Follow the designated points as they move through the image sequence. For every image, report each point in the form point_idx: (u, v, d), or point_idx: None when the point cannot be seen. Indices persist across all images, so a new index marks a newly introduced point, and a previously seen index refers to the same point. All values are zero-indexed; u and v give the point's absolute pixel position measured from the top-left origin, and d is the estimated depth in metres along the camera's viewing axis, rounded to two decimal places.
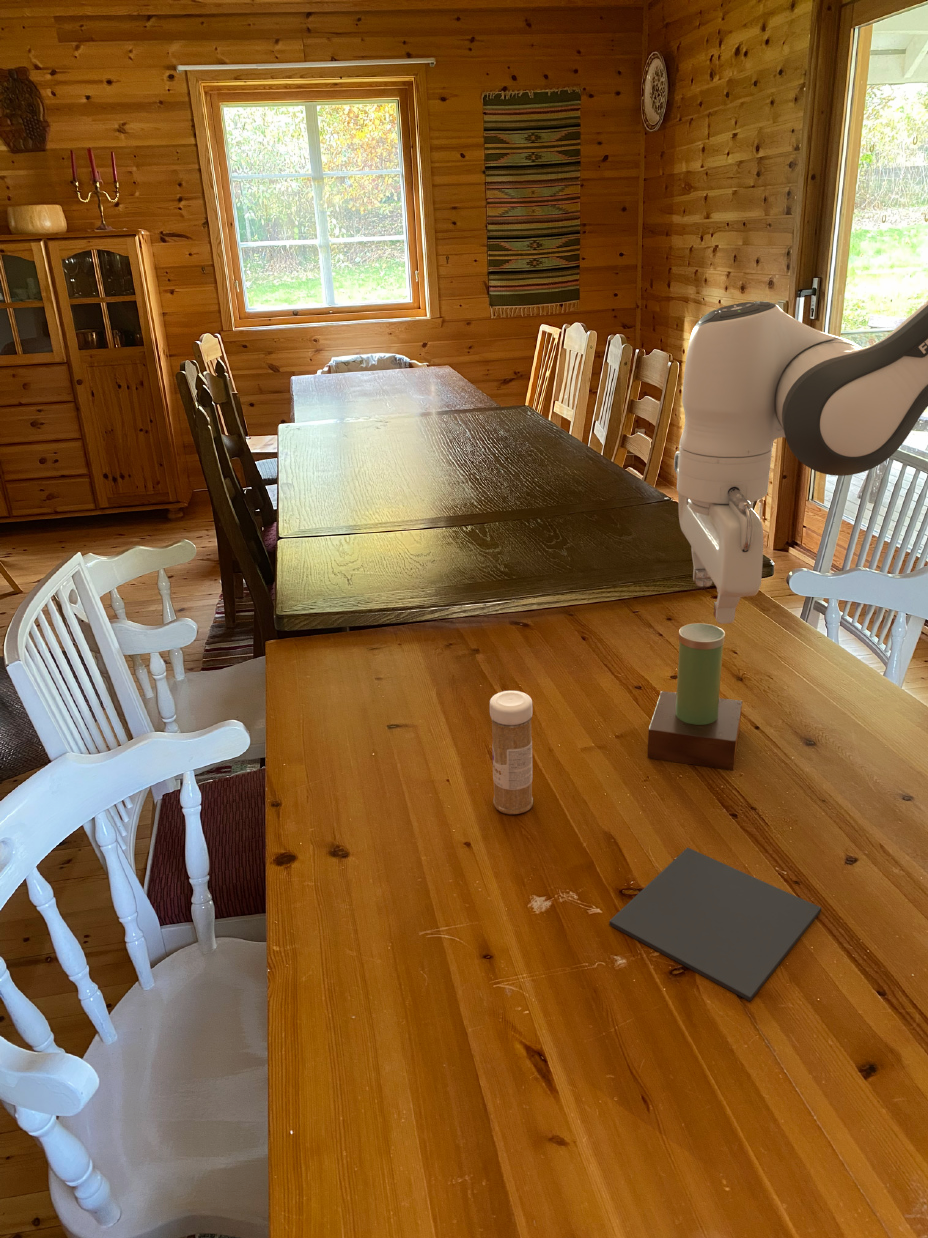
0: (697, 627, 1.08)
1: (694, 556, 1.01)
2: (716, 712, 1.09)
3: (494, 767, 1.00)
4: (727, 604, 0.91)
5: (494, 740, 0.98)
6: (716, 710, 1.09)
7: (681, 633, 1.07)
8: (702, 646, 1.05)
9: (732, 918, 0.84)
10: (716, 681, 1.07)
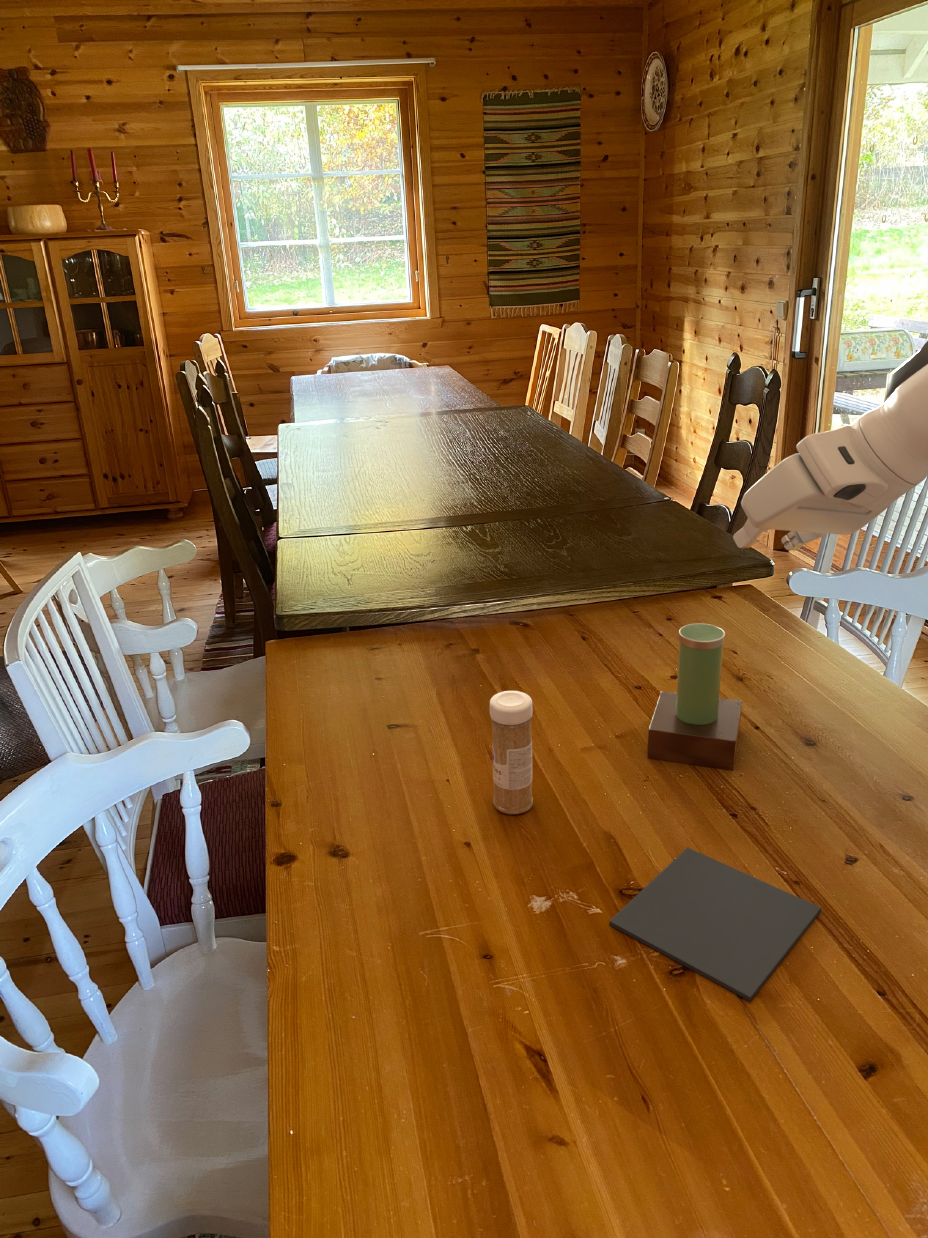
0: (697, 627, 1.08)
1: None
2: (716, 712, 1.09)
3: (494, 767, 1.00)
4: None
5: (494, 740, 0.98)
6: (716, 710, 1.09)
7: (681, 633, 1.07)
8: (702, 646, 1.05)
9: (732, 918, 0.84)
10: (716, 681, 1.07)
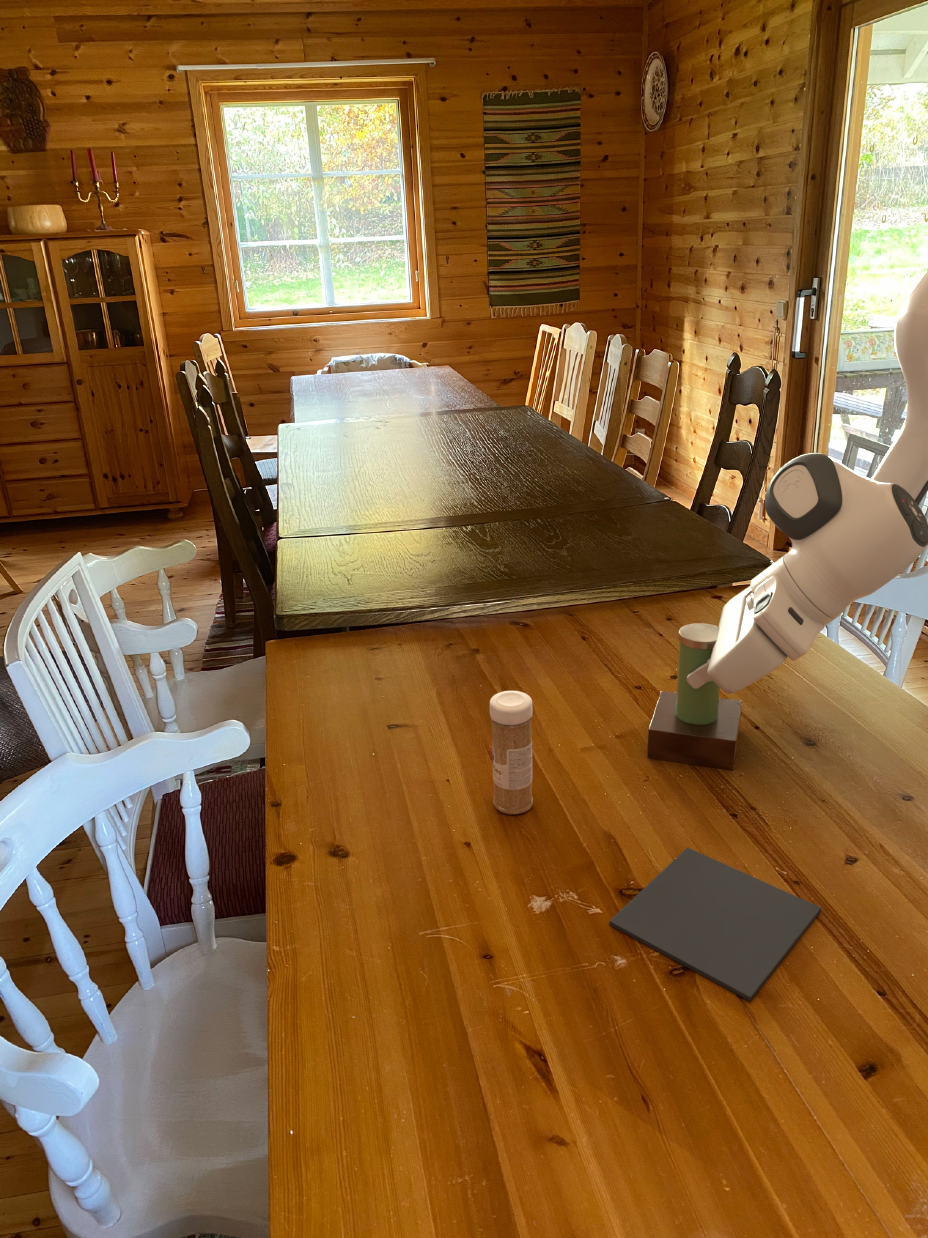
0: (696, 626, 1.08)
1: None
2: (716, 712, 1.09)
3: (494, 767, 1.00)
4: None
5: (494, 740, 0.98)
6: (716, 710, 1.09)
7: (681, 633, 1.07)
8: (702, 646, 1.05)
9: (732, 918, 0.84)
10: None
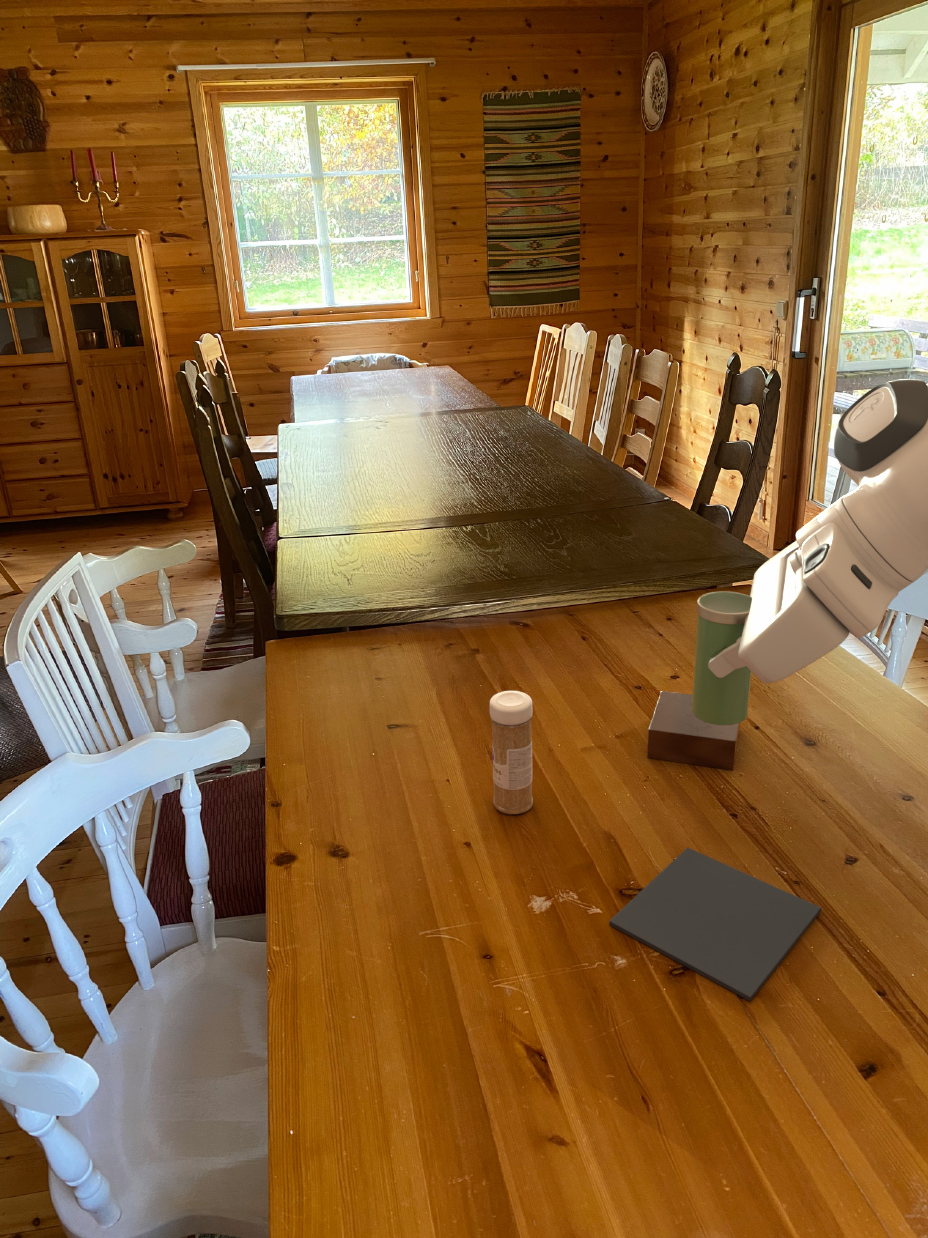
0: (721, 595, 0.82)
1: None
2: (746, 709, 0.83)
3: (494, 767, 1.00)
4: None
5: (494, 740, 0.98)
6: (746, 706, 0.83)
7: (700, 603, 0.80)
8: (729, 620, 0.78)
9: (732, 918, 0.84)
10: (747, 667, 0.81)
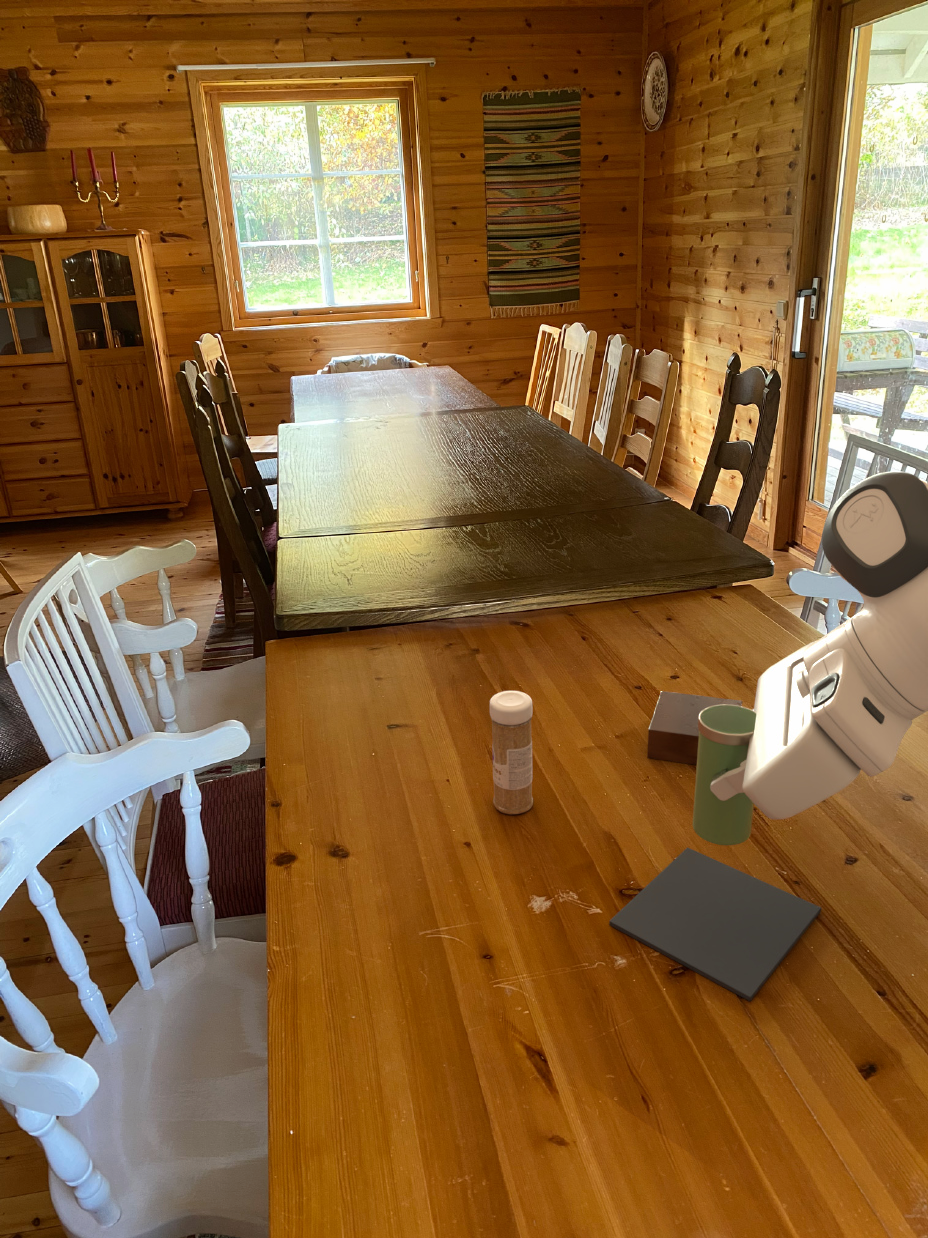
0: (723, 710, 0.78)
1: None
2: (749, 827, 0.79)
3: (494, 767, 1.00)
4: None
5: (494, 740, 0.98)
6: (749, 825, 0.79)
7: (702, 720, 0.76)
8: (732, 741, 0.74)
9: (732, 918, 0.84)
10: None
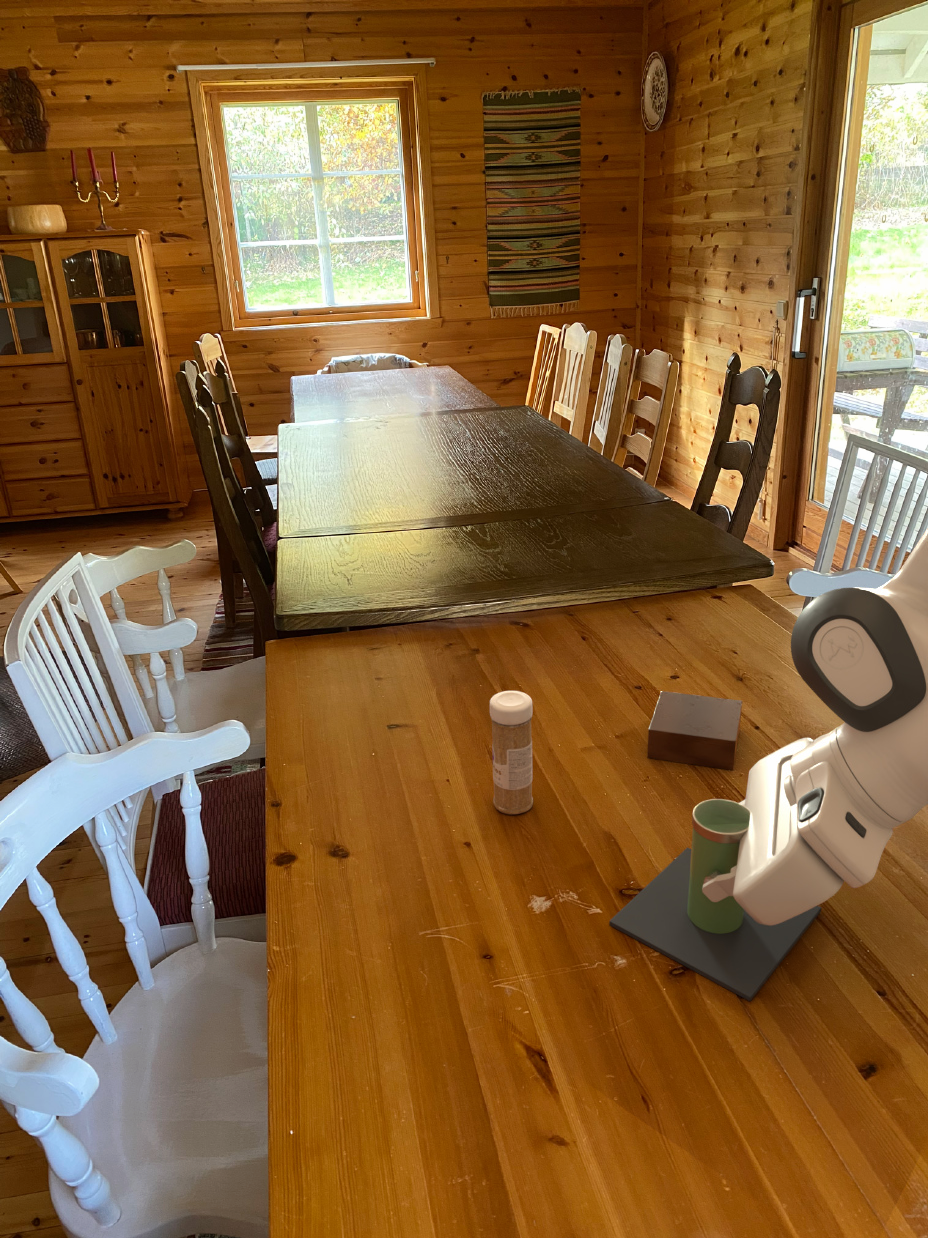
0: (716, 805, 0.82)
1: None
2: (741, 916, 0.83)
3: (494, 767, 1.00)
4: None
5: (494, 740, 0.98)
6: (741, 914, 0.82)
7: (695, 817, 0.80)
8: (724, 839, 0.78)
9: None
10: None
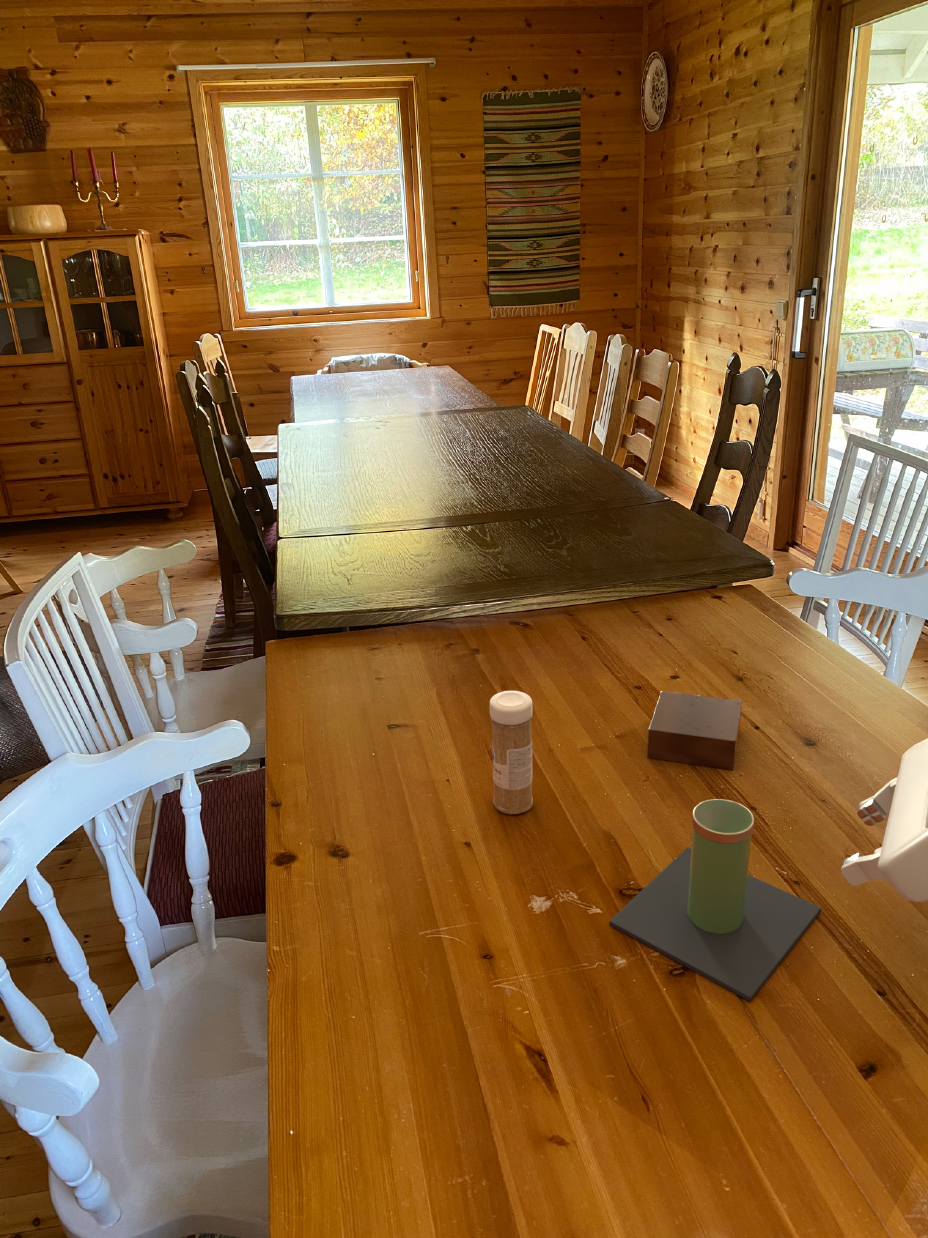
0: (716, 806, 0.82)
1: None
2: (741, 916, 0.83)
3: (494, 767, 1.00)
4: None
5: (494, 740, 0.98)
6: (741, 914, 0.82)
7: (695, 817, 0.80)
8: (724, 840, 0.78)
9: None
10: (742, 880, 0.81)
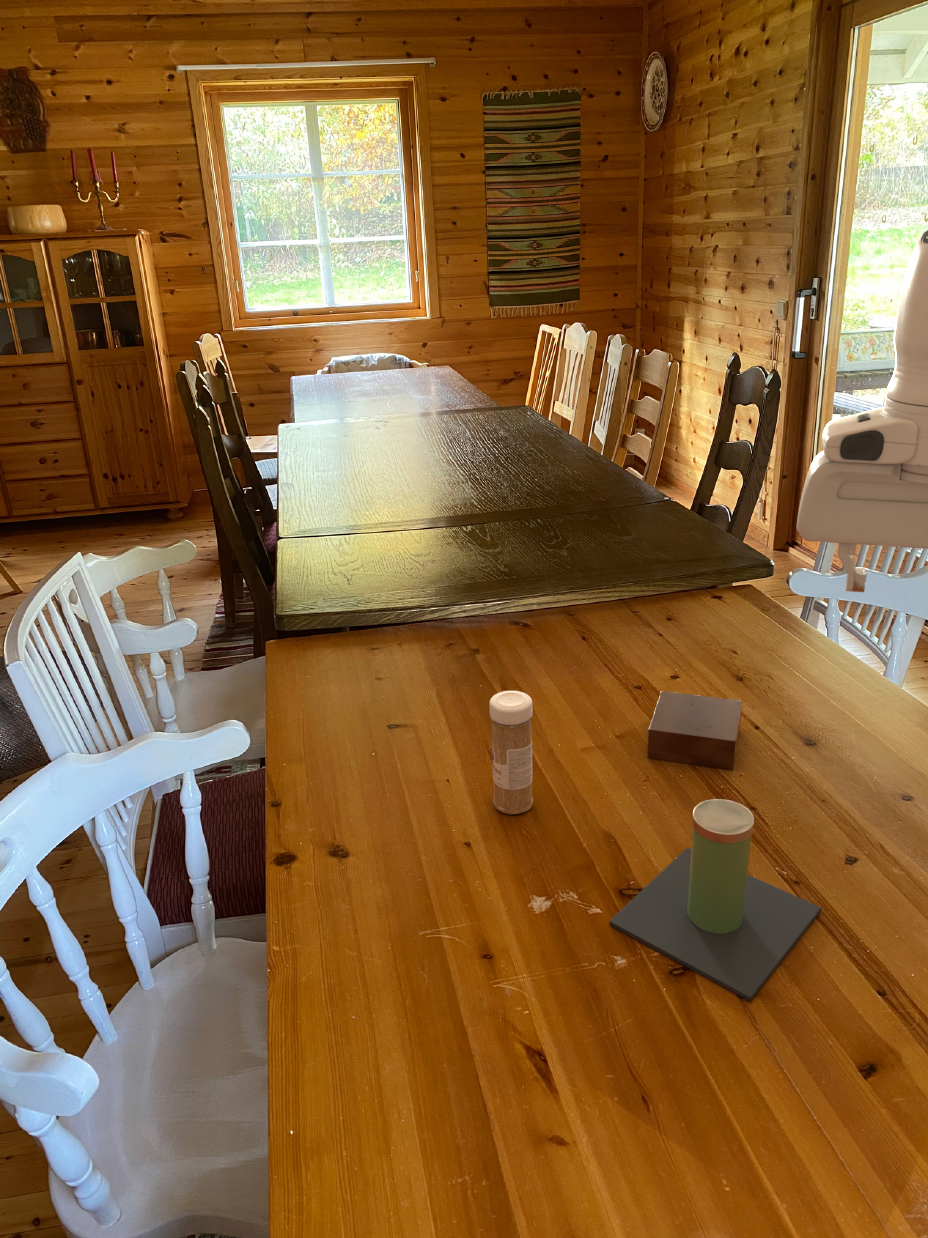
0: (716, 806, 0.82)
1: (849, 560, 0.78)
2: (741, 916, 0.83)
3: (494, 767, 1.00)
4: None
5: (494, 740, 0.98)
6: (741, 914, 0.82)
7: (695, 817, 0.80)
8: (724, 840, 0.78)
9: None
10: (742, 880, 0.81)
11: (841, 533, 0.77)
